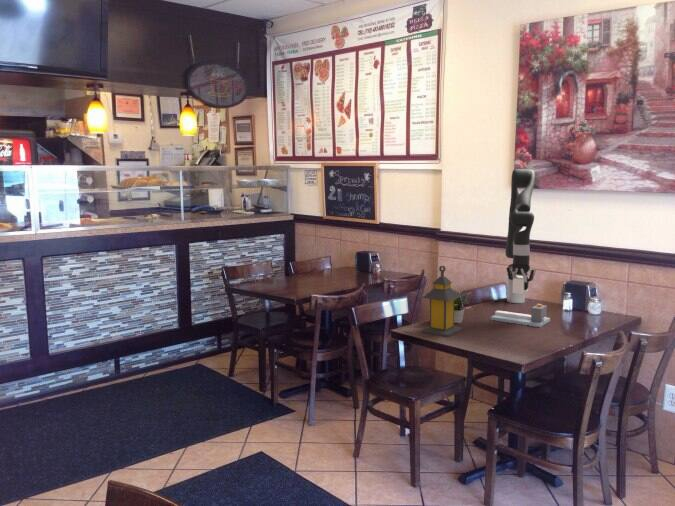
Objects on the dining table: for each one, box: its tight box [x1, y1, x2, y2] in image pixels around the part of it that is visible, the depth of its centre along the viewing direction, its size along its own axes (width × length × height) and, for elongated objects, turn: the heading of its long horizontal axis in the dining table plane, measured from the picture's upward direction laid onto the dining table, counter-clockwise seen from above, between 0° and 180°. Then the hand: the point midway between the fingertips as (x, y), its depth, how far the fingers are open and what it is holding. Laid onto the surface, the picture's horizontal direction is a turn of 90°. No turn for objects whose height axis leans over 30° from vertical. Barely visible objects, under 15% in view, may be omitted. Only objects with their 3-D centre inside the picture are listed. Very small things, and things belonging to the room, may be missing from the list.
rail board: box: [490, 303, 551, 328], centre depth 288 cm, size 14×24×9 cm, turn 52°
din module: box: [512, 276, 529, 294], centre depth 287 cm, size 8×4×7 cm, turn 142°
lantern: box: [421, 265, 463, 338], centre depth 271 cm, size 14×14×30 cm
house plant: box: [454, 288, 472, 324], centre depth 286 cm, size 14×14×16 cm
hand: (520, 289), depth 287 cm, fingers closed on din module, 4 cm apart
